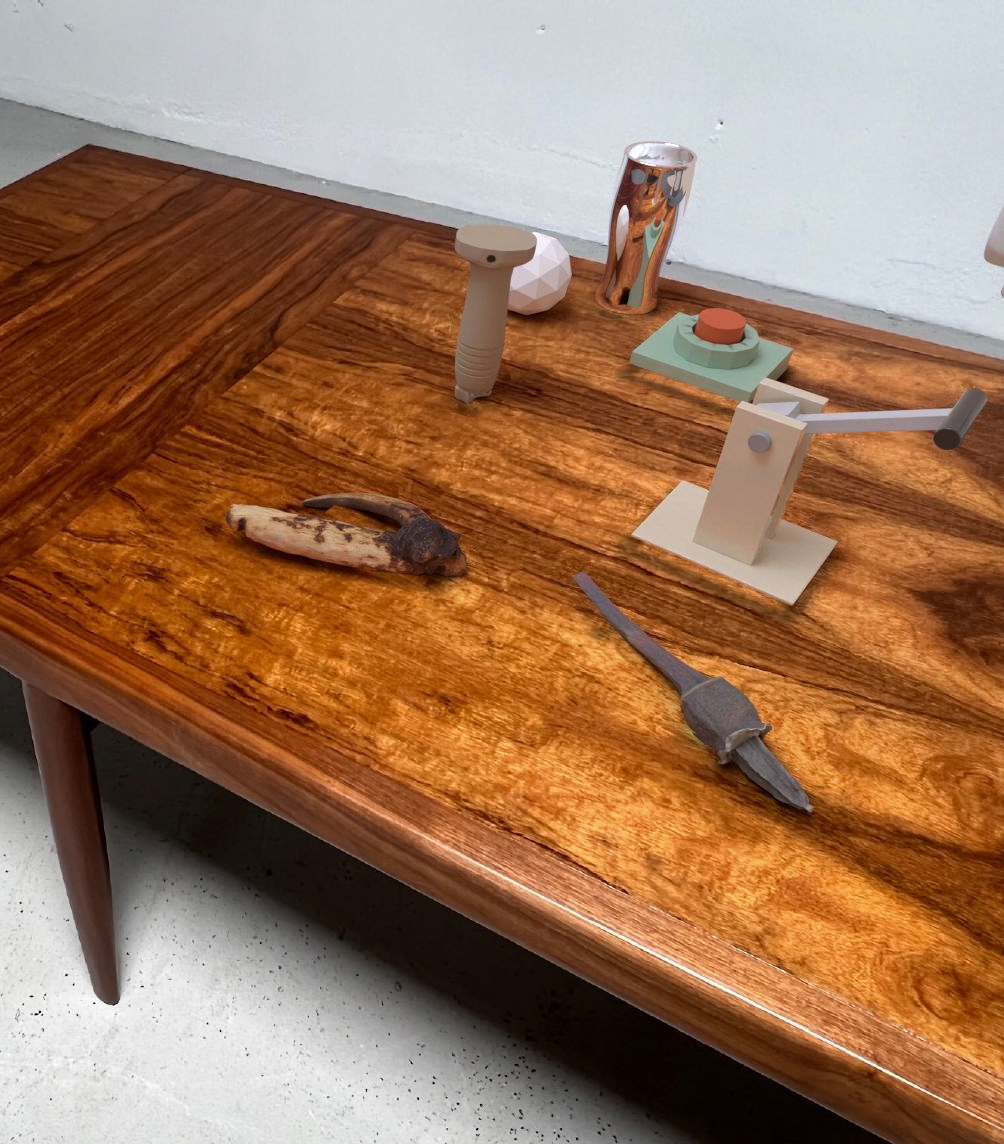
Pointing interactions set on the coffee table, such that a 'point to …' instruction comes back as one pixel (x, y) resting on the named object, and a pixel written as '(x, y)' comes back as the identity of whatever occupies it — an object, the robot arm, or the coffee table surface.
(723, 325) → the button
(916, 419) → the tap lever
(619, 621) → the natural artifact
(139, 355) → the coffee table surface
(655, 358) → the button housing
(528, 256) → the handle
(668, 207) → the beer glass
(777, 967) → the coffee table surface
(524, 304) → the geometric ball
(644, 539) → the lever stand
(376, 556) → the lashed bone hook
